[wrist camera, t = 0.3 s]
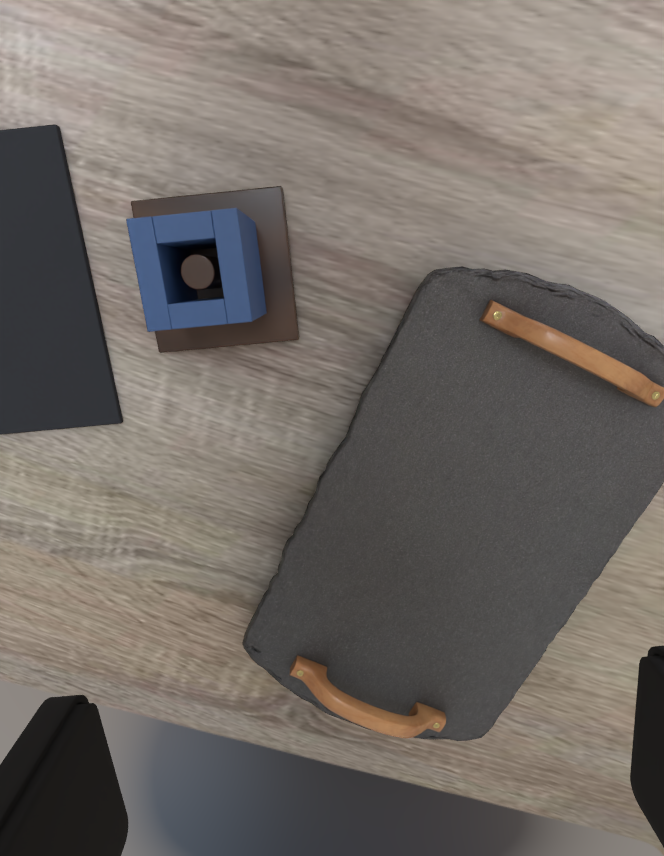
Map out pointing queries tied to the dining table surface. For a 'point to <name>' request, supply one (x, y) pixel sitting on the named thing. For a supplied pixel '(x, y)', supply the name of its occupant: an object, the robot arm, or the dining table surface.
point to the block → (171, 243)
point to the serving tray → (466, 505)
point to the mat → (47, 295)
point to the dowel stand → (206, 274)
